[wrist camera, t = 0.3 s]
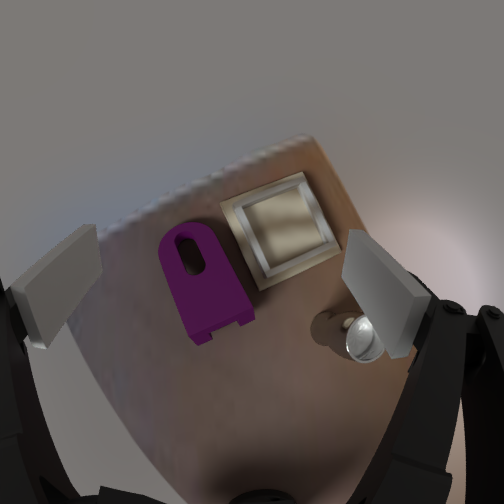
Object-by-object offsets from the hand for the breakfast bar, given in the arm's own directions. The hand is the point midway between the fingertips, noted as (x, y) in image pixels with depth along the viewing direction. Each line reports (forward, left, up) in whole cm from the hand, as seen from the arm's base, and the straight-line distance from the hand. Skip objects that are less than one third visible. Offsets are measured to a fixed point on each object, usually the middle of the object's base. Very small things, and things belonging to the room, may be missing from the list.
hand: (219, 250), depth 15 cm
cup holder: (+4, -14, -34) cm, 37 cm away
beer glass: (-15, -14, -35) cm, 40 cm away
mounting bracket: (+1, +2, -35) cm, 35 cm away
